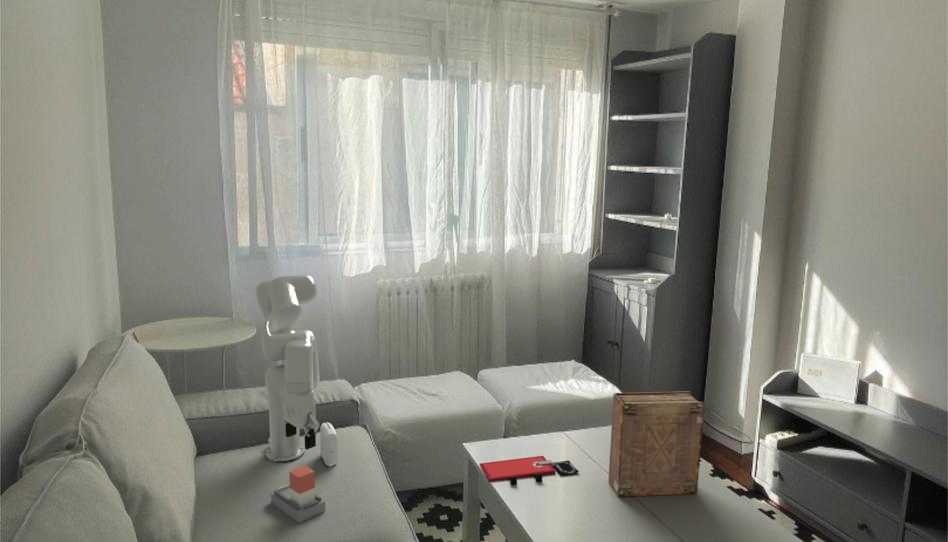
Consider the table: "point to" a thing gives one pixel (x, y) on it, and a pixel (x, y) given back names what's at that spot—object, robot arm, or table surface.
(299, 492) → the red cube
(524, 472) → the red board with handle
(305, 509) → the grey tray
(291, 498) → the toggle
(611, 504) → the table surface
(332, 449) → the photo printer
